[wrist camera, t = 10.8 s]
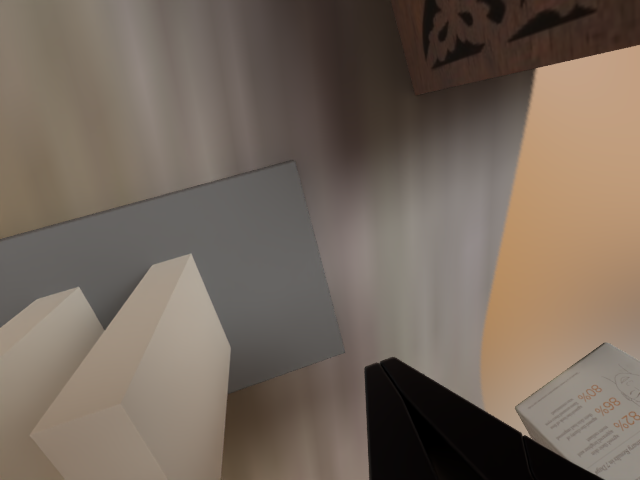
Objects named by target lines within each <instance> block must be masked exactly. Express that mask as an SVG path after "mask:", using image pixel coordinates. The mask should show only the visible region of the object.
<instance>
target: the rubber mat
mask: <svg viewBox="0 0 640 480" xmlns="http://www.w3.org/2000/svg"><path fill="white" fill-rule="evenodd" d="M188 254H192V257H193V259H194V261H195V264H196V266H197V269H198V271H199V273H200V276H201V278H202V280H203V283H204V285H205V288H206V290H207V292H208V295H209V297H210V299H211V302H212V304H213V307H214V309H215V311H216V314H217V316H218V318H219V321H220V323H221V326H222V328H223V330H224V333H225V335H226V337H227V340H228V342H229V345H230V347H231V353H230V366H229V379H228V392H227V394H230V393H232V392H235V391H238V390H241V389H244V388H246V387H249V386H252V385H255V384H258V383H261V382H263V381H266V380H269V379H272V378H275V377H278V376H280V375H283V374H286V373H289V372H292V371H295V370H297V369H300V368H303V367H306V366H309V365H312V364H314V363H317V362H320V361H323V360H326V359H329V358H331V357H334V356H337V355H340V354H343V353H345V350H344V346H343V342H342V338H341V334H340V331H339V327H338V323H337V319H336V315H335V311H334V308H333V304H332V300H331V296H330V292H329V289H328V285H327V281H326V277H325V273H324V269H323V266H322V262H321V258H320V254H319V250H318V247H317V243H316V239H315V235H314V231H313V227H312V224H311V220H310V216H309V212H308V208H307V205H306V201H305V197H304V193H303V189H302V186H301V182H300V178H299V174H298V170H297V166H296V163H295V161H294V160H290V161H286V162H283V163H279V164H275V165H272V166H268V167H264V168H261V169H257V170H253V171H250V172H246V173H242V174H238V175H235V176H231V177H227V178H224V179H220V180H216V181H213V182H209V183H205V184H202V185H198V186H194V187H191V188H187V189H183V190H180V191H176V192H172V193H169V194H165V195H161V196H157V197H154V198H150V199H146V200H143V201H139V202H135V203H132V204H128V205H124V206H121V207H117V208H113V209H110V210H106V211H102V212H99V213H95V214H91V215H87V216H84V217H80V218H76V219H73V220H69V221H65V222H62V223H58V224H54V225H51V226H47V227H43V228H40V229H36V230H32V231H29V232H25V233H21V234H17V235H14V236H10V237H6V238H3V239H0V328H1V327H2V326H3V325H5V324H6V323H7V322H8V321H10V320H11V319H12V318H13V317H15V316H16V315H17V314H19V313H20V312H21V311H22V310H24V309H25V308H26V307H27V306H29V305H30V304H31V303H33V302H34V301H35V300H36V299H39V298H42V297H46V296H49V295H52V294H56V293H59V292H63V291H66V290H69V289H73V288H76V287H79V288H80V289H81V291H82V293H83V294H84V296H85V298H86V300H87V301H88V303H89V305H90V306H91V308H92V310H93V312H94V313H95V315H96V317H97V318H98V320H99V322H100V324H101V325H102V327H103V329H104V330H106V328H107V327H108V326H109V324H110V323H111V321H112V320H113V319H114V317H115V316H116V314H117V313H118V312H119V310H120V309H121V308H122V306H123V305H124V303H125V302H126V301H127V299H128V298H129V296H130V295H131V294H132V292H133V291H134V290H135V288H136V287H137V285H138V284H139V283H140V281H141V280H142V279H143V277H144V276H145V274H146V273H147V272H148V270H149V269H150V267H151V266H152V265H154V264H157V263H161V262H164V261H167V260H171V259H174V258H177V257H181V256H184V255H188Z"/></svg>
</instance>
